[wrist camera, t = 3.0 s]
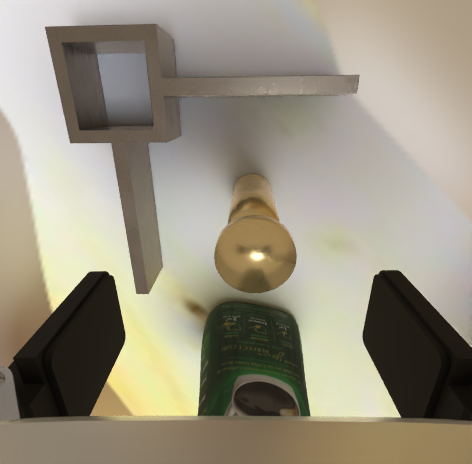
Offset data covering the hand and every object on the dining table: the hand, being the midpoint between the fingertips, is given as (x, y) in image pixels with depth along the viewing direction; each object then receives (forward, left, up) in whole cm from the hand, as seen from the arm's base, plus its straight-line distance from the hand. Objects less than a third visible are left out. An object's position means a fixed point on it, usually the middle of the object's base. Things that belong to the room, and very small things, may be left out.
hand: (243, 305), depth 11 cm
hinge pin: (-1, 0, -16) cm, 16 cm away
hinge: (+2, -2, -16) cm, 16 cm away
